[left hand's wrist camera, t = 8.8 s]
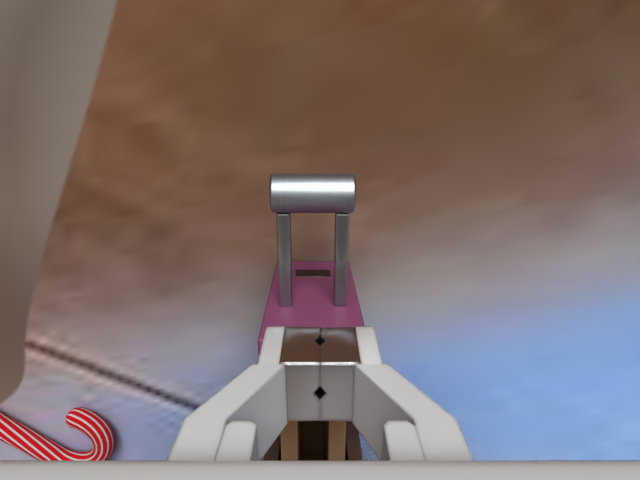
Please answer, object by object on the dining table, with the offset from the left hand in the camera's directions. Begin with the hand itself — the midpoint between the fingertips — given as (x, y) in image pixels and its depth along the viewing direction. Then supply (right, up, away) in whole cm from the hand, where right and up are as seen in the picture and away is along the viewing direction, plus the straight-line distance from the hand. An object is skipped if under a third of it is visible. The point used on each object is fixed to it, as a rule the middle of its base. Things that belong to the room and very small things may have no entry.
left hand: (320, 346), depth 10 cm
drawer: (0, -3, +14) cm, 14 cm away
